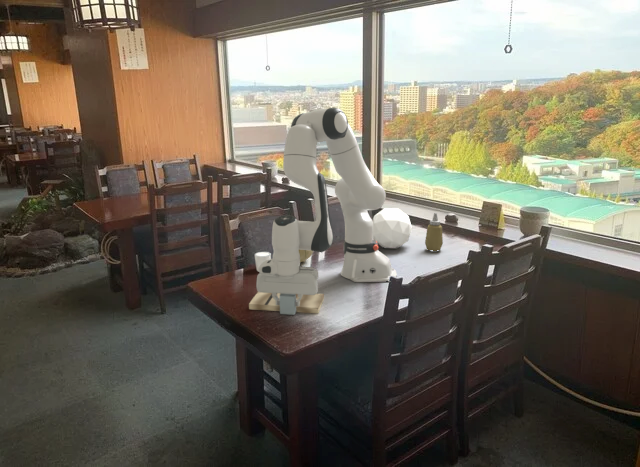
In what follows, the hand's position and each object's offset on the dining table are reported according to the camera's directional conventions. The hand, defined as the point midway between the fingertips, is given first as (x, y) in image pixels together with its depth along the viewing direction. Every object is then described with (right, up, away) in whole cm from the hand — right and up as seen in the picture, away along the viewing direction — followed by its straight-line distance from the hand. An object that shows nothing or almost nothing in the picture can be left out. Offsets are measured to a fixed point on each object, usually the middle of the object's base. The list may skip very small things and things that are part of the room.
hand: (287, 305), depth 160 cm
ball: (+45, +17, +71) cm, 86 cm away
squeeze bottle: (+64, +16, +65) cm, 93 cm away
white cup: (-13, +8, +43) cm, 45 cm away
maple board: (-1, -1, +8) cm, 8 cm away
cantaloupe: (+1, +11, +52) cm, 53 cm away
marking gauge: (+1, -1, +6) cm, 6 cm away
